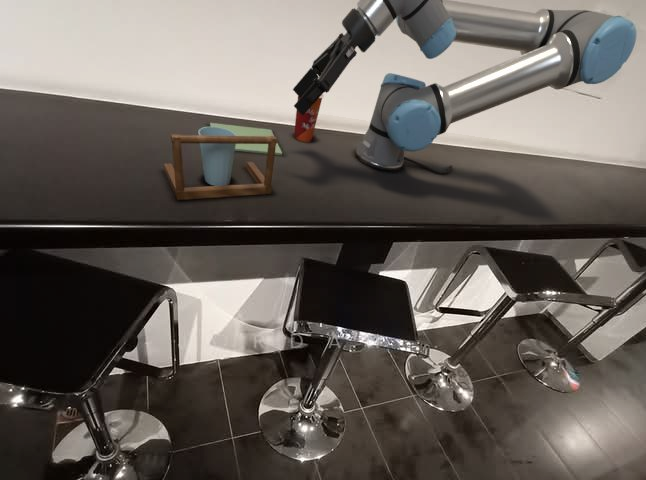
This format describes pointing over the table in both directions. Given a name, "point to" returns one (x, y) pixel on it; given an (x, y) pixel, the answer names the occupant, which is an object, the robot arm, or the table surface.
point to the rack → (261, 187)
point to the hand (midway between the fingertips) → (297, 101)
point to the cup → (217, 157)
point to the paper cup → (307, 121)
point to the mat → (250, 132)
